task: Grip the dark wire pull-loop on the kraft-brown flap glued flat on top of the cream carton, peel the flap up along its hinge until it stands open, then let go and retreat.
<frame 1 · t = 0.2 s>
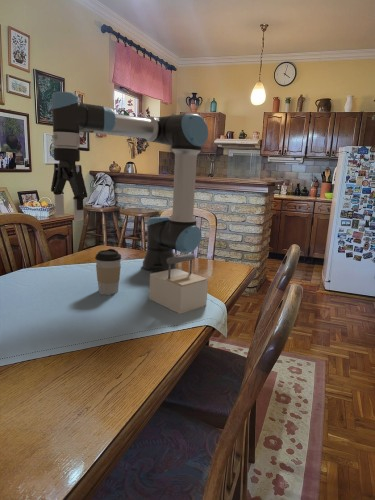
hand: (68, 217, 113), 28 cm above the table, fingers open, 13 cm apart
flap: (186, 268, 116), point 13 cm above the table, hinge at 0.0°
coffee cup: (108, 291, 129), on the table
carton: (177, 302, 122), on the table
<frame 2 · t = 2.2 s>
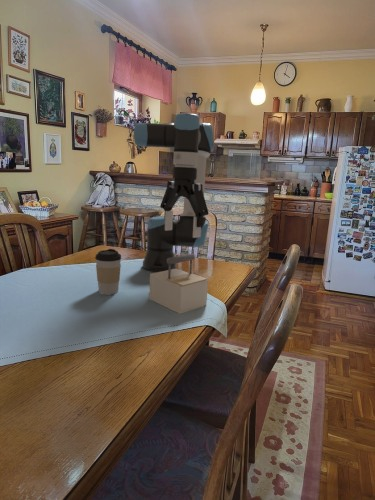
hand: (181, 233, 116), 24 cm above the table, fingers open, 13 cm apart
nothing on the table moved.
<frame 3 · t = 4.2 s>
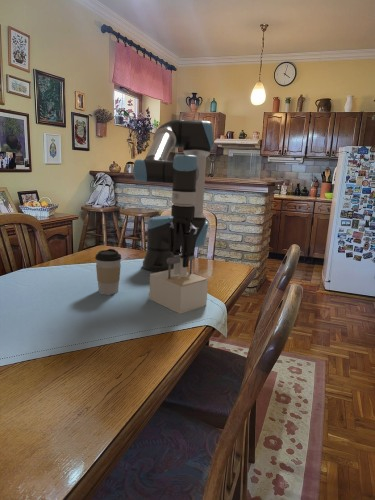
hand: (180, 274, 119), 10 cm above the table, fingers closed on flap, 2 cm apart
flap: (186, 268, 116), point 13 cm above the table, hinge at -0.1°, touching gripper
everything else where it was.
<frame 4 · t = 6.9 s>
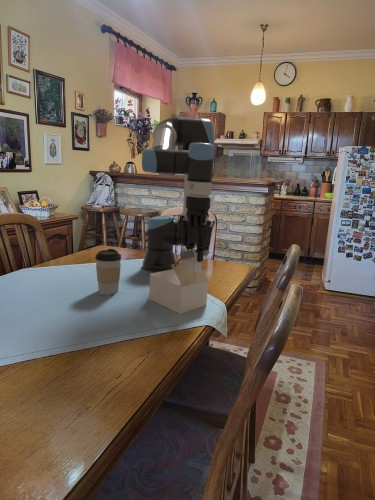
hand: (193, 269, 114), 13 cm above the table, fingers closed on flap, 2 cm apart
flap: (195, 266, 113), point 15 cm above the table, hinge at 43.8°, touching gripper
everything else where it was.
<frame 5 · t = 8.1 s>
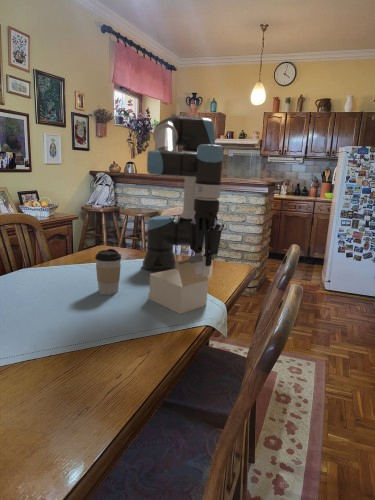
hand: (202, 274, 111), 13 cm above the table, fingers closed on flap, 2 cm apart
flap: (200, 268, 112), point 14 cm above the table, hinge at 65.8°, touching gripper
everything else where it was.
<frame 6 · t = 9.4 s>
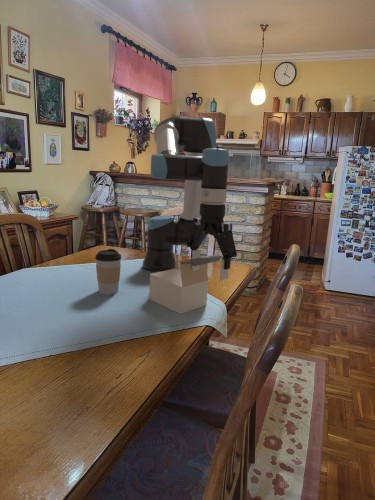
hand: (209, 274, 109), 14 cm above the table, fingers open, 11 cm apart
flap: (201, 270, 111), point 14 cm above the table, hinge at 73.8°, touching gripper
everything else where it was.
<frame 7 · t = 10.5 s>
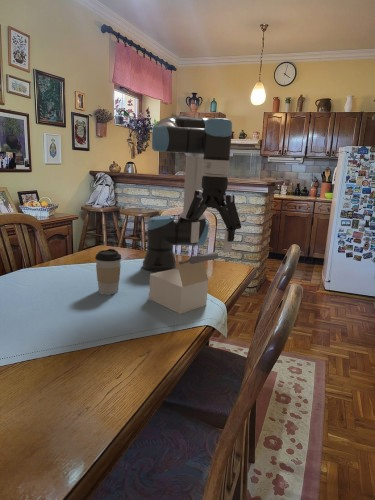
hand: (210, 247, 108), 22 cm above the table, fingers open, 13 cm apart
flap: (200, 268, 112), point 14 cm above the table, hinge at 67.1°
everything else where it was.
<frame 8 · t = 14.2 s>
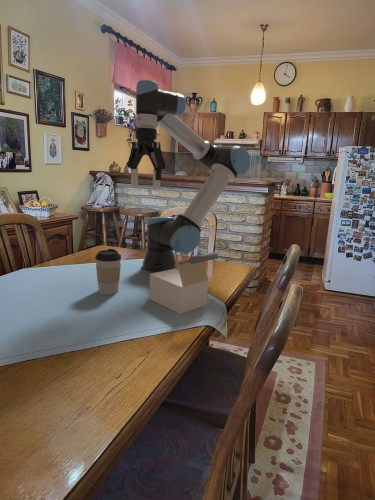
hand: (145, 188, 132), 37 cm above the table, fingers open, 13 cm apart
nothing on the table moved.
at the end: flap at +67° (first picture: +0°); the gripper is holding nothing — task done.
